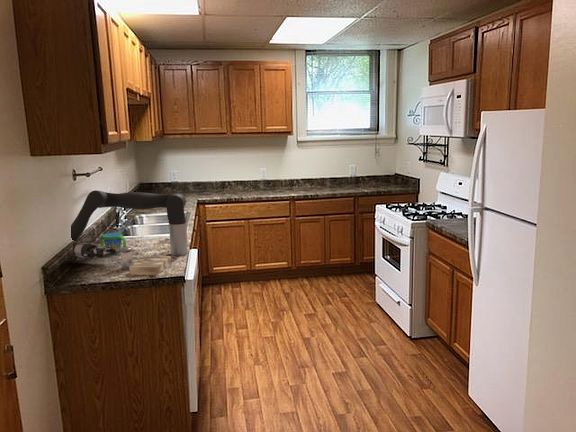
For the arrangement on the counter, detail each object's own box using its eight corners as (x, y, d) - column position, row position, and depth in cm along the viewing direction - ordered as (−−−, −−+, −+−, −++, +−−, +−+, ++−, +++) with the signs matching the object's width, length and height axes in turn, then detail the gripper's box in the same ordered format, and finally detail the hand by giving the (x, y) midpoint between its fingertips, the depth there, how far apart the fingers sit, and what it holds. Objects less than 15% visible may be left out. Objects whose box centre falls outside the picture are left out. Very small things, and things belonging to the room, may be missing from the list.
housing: (124, 266, 233) (122, 247, 231) (135, 266, 232) (133, 247, 230) (119, 269, 227) (117, 250, 225) (130, 269, 227) (129, 250, 225)
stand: (144, 263, 236) (143, 255, 235) (171, 263, 235) (170, 255, 234) (130, 274, 218) (129, 265, 218) (158, 274, 217) (158, 265, 216)
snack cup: (131, 251, 263) (129, 233, 261) (118, 255, 253) (116, 237, 251) (110, 248, 269) (108, 232, 267) (96, 253, 259) (94, 235, 257)
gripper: (74, 246, 233) (97, 249, 226) (96, 240, 245) (119, 243, 239) (75, 260, 234) (99, 264, 227) (97, 254, 247) (120, 257, 240)
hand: (109, 253), depth 233 cm, fingers open, 8 cm apart
